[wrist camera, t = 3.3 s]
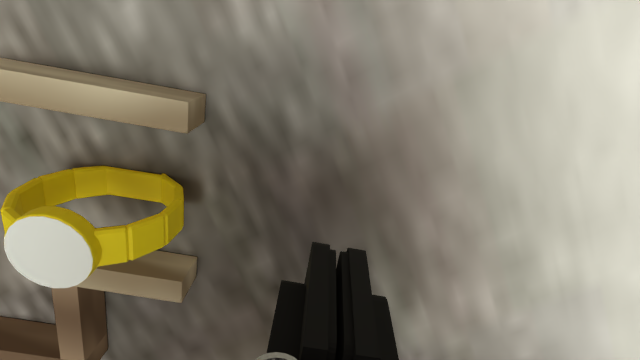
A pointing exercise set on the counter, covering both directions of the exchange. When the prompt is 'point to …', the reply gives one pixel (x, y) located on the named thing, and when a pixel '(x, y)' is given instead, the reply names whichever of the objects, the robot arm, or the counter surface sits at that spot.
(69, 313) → the trap lane
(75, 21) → the counter surface
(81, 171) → the watch
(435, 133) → the counter surface
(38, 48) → the counter surface
